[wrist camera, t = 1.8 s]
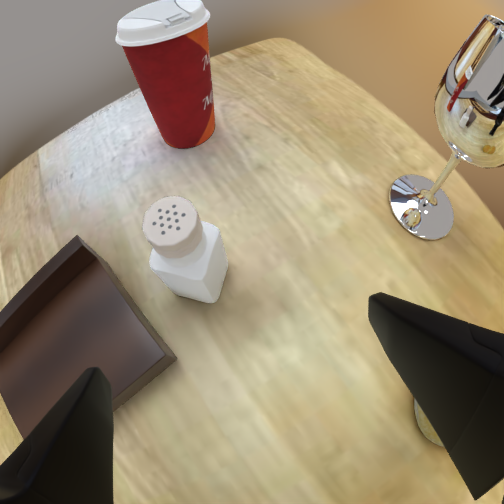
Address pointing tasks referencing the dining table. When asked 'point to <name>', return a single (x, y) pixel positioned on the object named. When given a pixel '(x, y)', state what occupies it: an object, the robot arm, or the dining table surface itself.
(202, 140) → the coffee cup
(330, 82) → the dining table surface
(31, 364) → the spice rack
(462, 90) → the wineglass
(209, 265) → the pepper shaker
